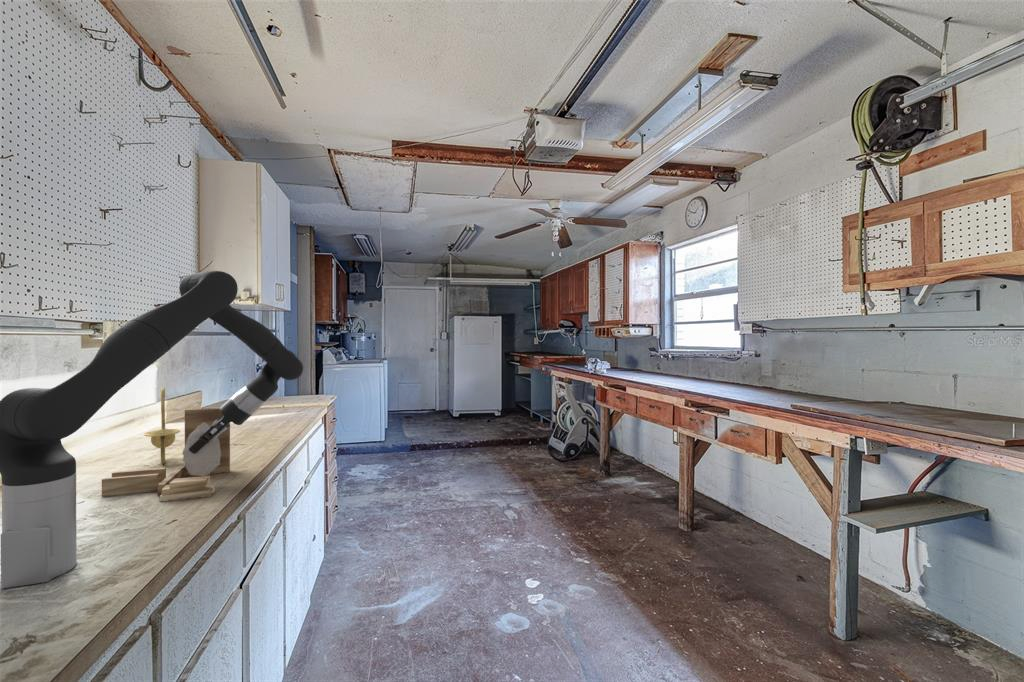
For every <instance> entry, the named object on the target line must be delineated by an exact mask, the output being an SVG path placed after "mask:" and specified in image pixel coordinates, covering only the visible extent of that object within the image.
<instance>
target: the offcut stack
mask: <svg viewBox="0 0 1024 682" xmlns="http://www.w3.org/2000/svg"><path fill="white" fill-rule="evenodd" d="M210 482H211V475H206V476H190V477H183V478H178V479H174V480H173V481H171V482H170V483H169V485H165V487H164V488H163V489H162V495H160V496H159V502H160V501H163V502H169V501H168V500H172V501H179V500H178V499H182V500H186V499H185V498H191V499H196V498H195V497H201V498H204V497H203V496H210V495H211V494H212V493H213V494H214V492H215V491H214V490H215V489H216V488H215V487H216V486H215V485H208V484H209V483H210ZM213 491H214V492H213ZM213 494H212V495H213ZM212 495H211V496H212ZM211 496H210V497H211Z"/></svg>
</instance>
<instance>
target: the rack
mask: <svg viewBox="0 0 1024 682" xmlns="http://www.w3.org/2000/svg"><path fill="white" fill-rule="evenodd" d="M219 417H221V418H223V417H224V415H223V414H222V413H221V412H220V407H210V408H189V409H184V446H185V445H186V442H187V439H188V437H189V435H190V434H191V433H192V432H193V431H194V430H195V429H196V428H197V427H198V426H199V425H201V424H202V423H204V422H205V423H206V424H208V425H209V427H210V426H211V425H212V424H213V422H214V421H215V420H216V419H217V418H219ZM229 425H230V427H229V428H228V429H227V430H225V431H224V432H222V433H221V434H220V435H219V436H218V439H219V443H220V451H221V457H220V465H218V467H216V468H215V469H214V470H213V471H212V472H210V473H209V474H208V475H213V474H212V473H214V474H222V473H221V472H225V473H229V472H230V471H231V423H230V424H229ZM189 476H190V477H192V475H191V474H189V472H188V470H187V469H186V466H185V465H183V466H177V468H176V469H174V470H173V471H172V472H171V473H170V474H168V476H167V475H166V478H165V479H164V480H163V481H162V482H160V483H159V484H158V491H157V497H160V495H162V489H163V488H164V487H165V485H169V483H170V482H171V481H173V480H174V479H178V478H185V477H189Z"/></svg>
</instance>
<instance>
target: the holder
mask: <svg viewBox="0 0 1024 682" xmlns="http://www.w3.org/2000/svg"><path fill="white" fill-rule="evenodd" d="M166 477H167V467H156V468H144V469H143V468H142V469H134V470H132V469H131V470H121V471H120V470H119V471H113V472H111V477H103V478H101V497H110V496H111V497H112V496H120V495H121V496H122V495H130V494H139V493H141V494H143V493H152V492H151V491H153V492H158V484H159V483H160V482H162V481H163V480H164V479H165V478H166ZM142 492H143V493H142Z"/></svg>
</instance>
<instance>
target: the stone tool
mask: <svg viewBox="0 0 1024 682" xmlns="http://www.w3.org/2000/svg"><path fill="white" fill-rule="evenodd" d="M208 428H209V425H208V424H206V423H205V422H204V423H202V424H201V425H199V426H198V427H197V428H196V429H195V430H194V431H193V432H192V433H191V434H190V435H189V437H188V439H187V442H186V445H185V444H184V448H183V449H182V456H183V457H182V461H183V464H184V466H186V469H187V470H188V472H189V474H191V476H196V477H203V476H208V475H210V474H209V473H210V472H212V471H213V470H214V469H215V468H216V467H218V465H220V457H221V451H220V443H219V439H218V437H216V438H215V439H212V440H210V441H209V443H208V444H206V445H204V446H203V447H202V448H201V449H200V450H199V451H198V452H197V453H195V454H193V453H192V452H191V451H189V448H190V447H191V446H192V445H193V444H194V443H196V442H197V441H198V440H199V438H200V436H202V435H203V434H204V433H205V430H206V429H208ZM205 437H206V438H207V439H208V440H209V438H208V437H207V436H205Z"/></svg>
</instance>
